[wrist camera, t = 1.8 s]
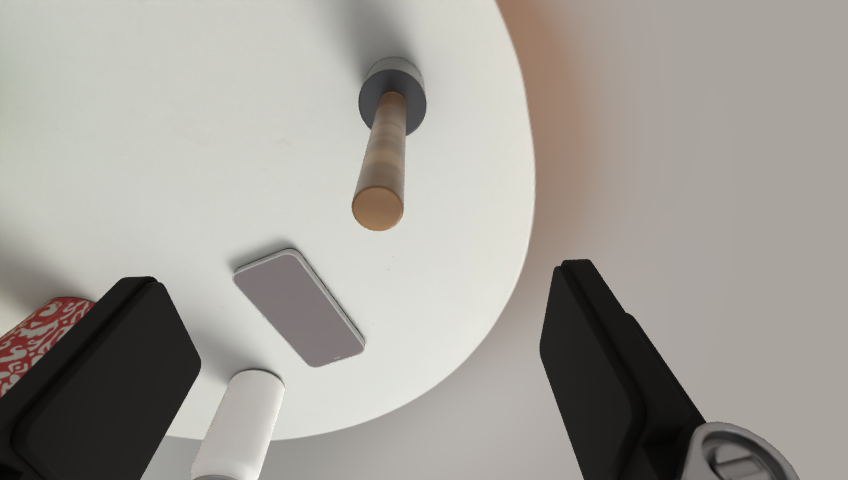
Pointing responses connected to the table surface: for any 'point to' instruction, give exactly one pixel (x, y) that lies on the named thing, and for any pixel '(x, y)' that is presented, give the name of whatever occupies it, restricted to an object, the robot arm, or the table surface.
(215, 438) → the can
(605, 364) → the robot arm
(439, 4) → the table surface
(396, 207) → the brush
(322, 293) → the smartphone
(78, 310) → the mug
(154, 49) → the table surface
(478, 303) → the table surface
